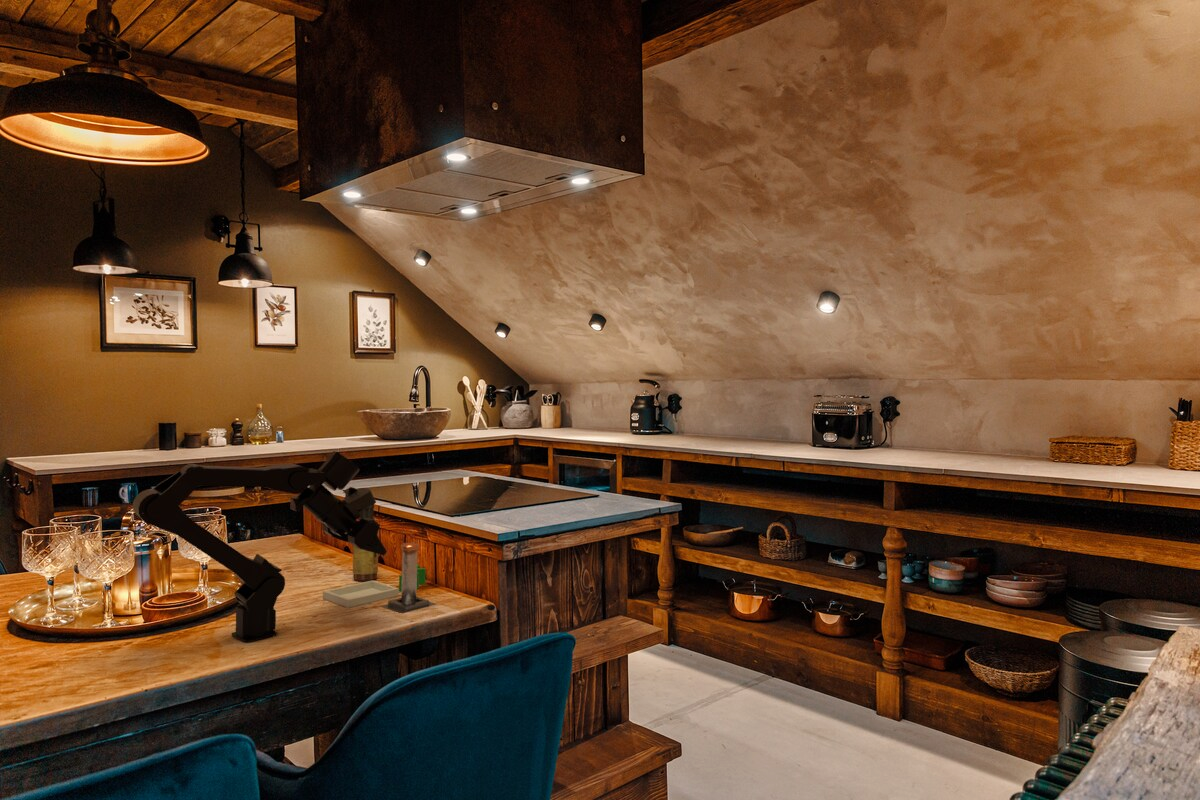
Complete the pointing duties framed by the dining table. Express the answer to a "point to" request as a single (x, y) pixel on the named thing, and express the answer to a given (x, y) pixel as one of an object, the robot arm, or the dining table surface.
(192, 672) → the dining table surface
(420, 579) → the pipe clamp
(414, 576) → the hitch pin
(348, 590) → the tray
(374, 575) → the sauce bottle
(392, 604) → the collar block
